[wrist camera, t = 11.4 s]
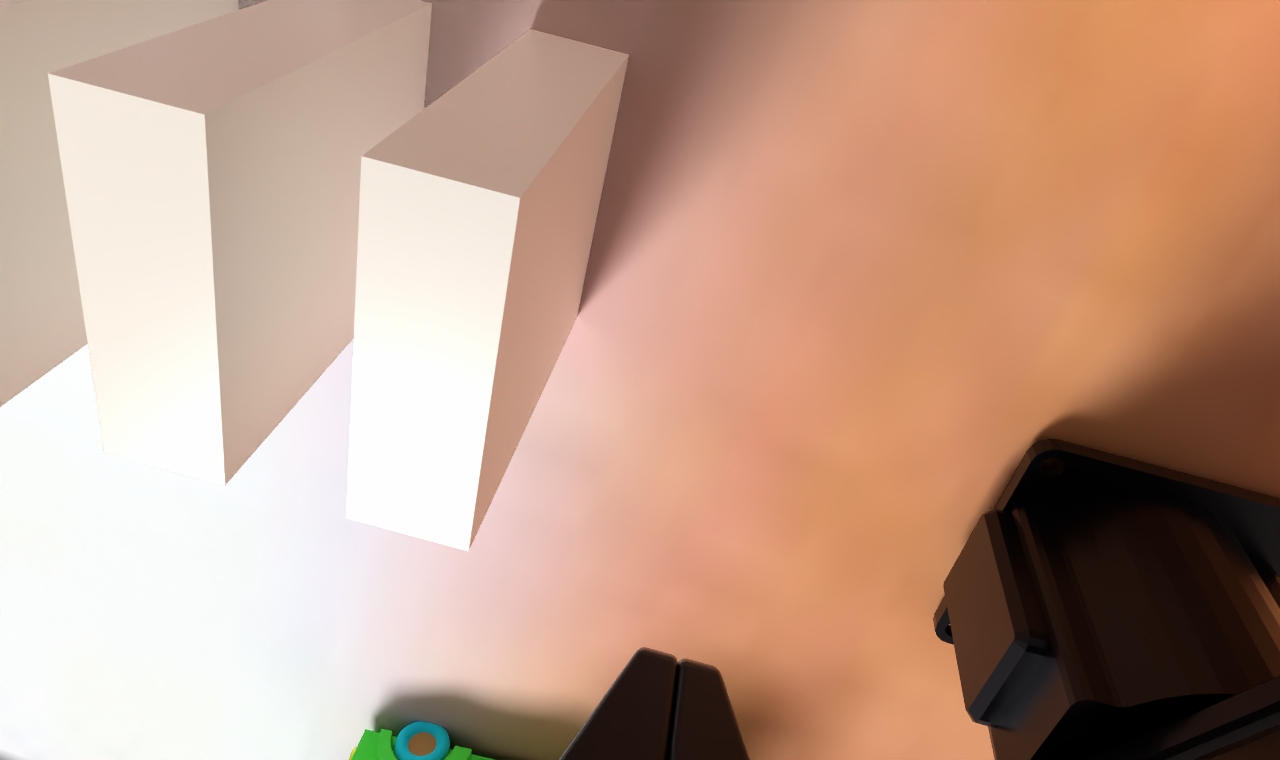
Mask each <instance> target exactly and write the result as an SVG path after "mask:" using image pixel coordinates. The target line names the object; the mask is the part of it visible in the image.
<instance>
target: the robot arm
mask: <svg viewBox="0 0 1280 760" xmlns="http://www.w3.org/2000/svg"><path fill="white" fill-rule="evenodd" d="M1051 458H1055V459H1059V461H1058V462H1057V463H1056V464H1054V465H1051V466H1043V465H1041V464H1042V463H1043V462H1044V461H1045V460H1048V459H1051ZM944 592H945V596H944V598H943V600H942V602H941V603H940V605H939V607H938V609H937V610H936V612H935V614H934V618H933V621H934V627H935V632H936V635H937V636H938V637H939V638H940V639H941V640H942V641H945V642H947V643H950V644H954V647H955V653H956V658H957V664H958V669H959V675H960V680H961V686H962V692H963V697H964V703H965V708H966V711H967V712H968V714H969V716H970V718H971V719H972V721H973V722H975V723H979V724H983V725H986V726H988V729H989V734H990V739H991V744H992V748H993V753H994V758H995V760H1280V499H1279V498H1275V497H1271V496H1268V495H1264V494H1260V493H1256V492H1253V491H1249V490H1245V489H1241V488H1238V487H1234V486H1230V485H1226V484H1223V483H1219V482H1215V481H1211V480H1207V479H1204V478H1200V477H1196V476H1192V475H1189V474H1185V473H1181V472H1177V471H1174V470H1170V469H1166V468H1162V467H1158V466H1155V465H1151V464H1147V463H1143V462H1140V461H1136V460H1132V459H1128V458H1125V457H1121V456H1117V455H1113V454H1109V453H1106V452H1102V451H1098V450H1094V449H1091V448H1087V447H1083V446H1079V445H1076V444H1072V443H1068V442H1064V441H1060V440H1054V439H1047V440H1042V441H1039V442H1037V443H1036V444H1034V445H1032V446H1031V447H1030V449H1029V450H1028V451H1027V452H1026V454H1025V456H1024V458H1023V459H1022V461H1021V463H1020V465H1019V466H1018V468H1017V470H1016V472H1015V473H1014V475H1013V477H1012V479H1011V480H1010V482H1009V484H1008V486H1007V487H1006V489H1005V491H1004V493H1003V494H1002V496H1001V498H1000V500H999V501H998V503H997V505H996V507H995V509H991V510H989V511H987V512H986V513H984V514H983V515H982V516H981V518H980V519H979V521H978V523H977V525H976V527H975V528H974V530H973V532H972V534H971V535H970V537H969V539H968V541H967V543H966V544H965V546H964V548H963V550H962V551H961V553H960V555H959V557H958V559H957V560H956V562H955V564H954V566H953V567H952V569H951V571H950V573H949V575H948V576H947V578H946V580H945V582H944ZM949 624H950V625H949ZM559 760H750V759H749V756H748V753H747V750H746V747H745V744H744V741H743V738H742V735H741V732H740V729H739V726H738V723H737V720H736V717H735V714H734V711H733V708H732V705H731V702H730V699H729V696H728V693H727V690H726V687H725V684H724V681H723V678H722V676H721V674H720V672H719V670H718V669H717V668H716V667H714V666H711V665H708V664H704V663H700V662H697V661H693V660H689V659H682V660H680V661H679V662H678V661H677V658H676V657H675V656H673V655H671V654H668V653H664V652H660V651H657V650H653V649H649V648H645V647H643V648H640V649H639V650H637V652H636V653H635V654H634V655H633V657H632V658H631V660H630V661H629V662H628V664H627V665H626V667H625V668H624V669H623V671H622V672H621V674H620V675H619V676H618V678H617V679H616V681H615V682H614V683H613V685H612V686H611V688H610V689H609V690H608V692H607V693H606V695H605V696H604V697H603V699H602V700H601V702H600V703H599V704H598V706H597V707H596V708H595V710H594V711H593V713H592V714H591V715H590V717H589V718H588V720H587V721H586V722H585V724H584V725H583V727H582V728H581V729H580V731H579V732H578V734H577V735H576V736H575V738H574V739H573V741H572V742H571V743H570V745H569V746H568V748H567V749H566V750H565V752H564V753H563V755H562V756H561V757H560V759H559Z"/></svg>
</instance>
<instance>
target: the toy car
mask: <svg viewBox="0 0 1280 760" xmlns="http://www.w3.org/2000/svg"><path fill="white" fill-rule="evenodd" d="M449 748H450V739H449V736H448V734H447V731H446V730H445V729H444V728H443V727H442V726H439V725H436V724H433V723H428V722H422V721H416V722H413V723H411V724H409V725H407V726H406V727H404V728H403V729H402V730H401V731H400V733H399V734H398V736H397V737H395V736H392V731H391V730H386V729H382V728H381V731H380V733H378V732H374V731H370V730H365V732H364V734H363V736H362V738H361V740H360V742H359V744H358V746H357V747H355V748H354V749H353V751H352V753H351V755H350V758H349V760H495V759H490V758H486V757H482V756H477V755H473V754H472V749H468V748H464V747H460V746H455V747H454V749H453V750H451V749H449Z"/></svg>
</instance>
